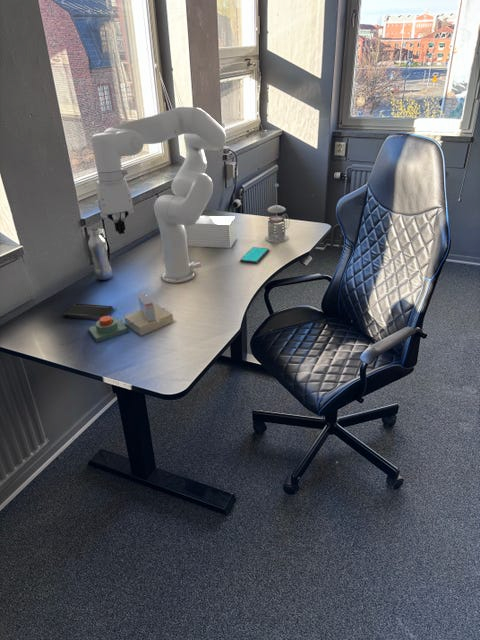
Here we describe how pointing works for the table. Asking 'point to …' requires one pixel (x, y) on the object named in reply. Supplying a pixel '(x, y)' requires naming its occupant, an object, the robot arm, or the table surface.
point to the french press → (276, 219)
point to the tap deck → (141, 323)
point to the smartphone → (254, 255)
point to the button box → (107, 330)
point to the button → (105, 320)
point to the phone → (88, 311)
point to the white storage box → (212, 232)
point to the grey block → (147, 307)
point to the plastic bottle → (99, 255)
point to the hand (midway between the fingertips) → (121, 232)
